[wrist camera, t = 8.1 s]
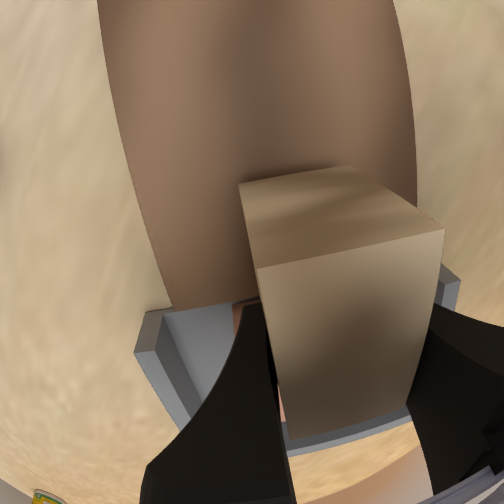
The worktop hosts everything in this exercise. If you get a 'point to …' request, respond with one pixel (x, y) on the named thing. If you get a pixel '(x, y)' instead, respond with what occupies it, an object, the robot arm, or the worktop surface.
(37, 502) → the supplement bottle
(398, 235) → the tall beige block
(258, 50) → the board
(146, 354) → the tray
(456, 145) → the worktop surface
